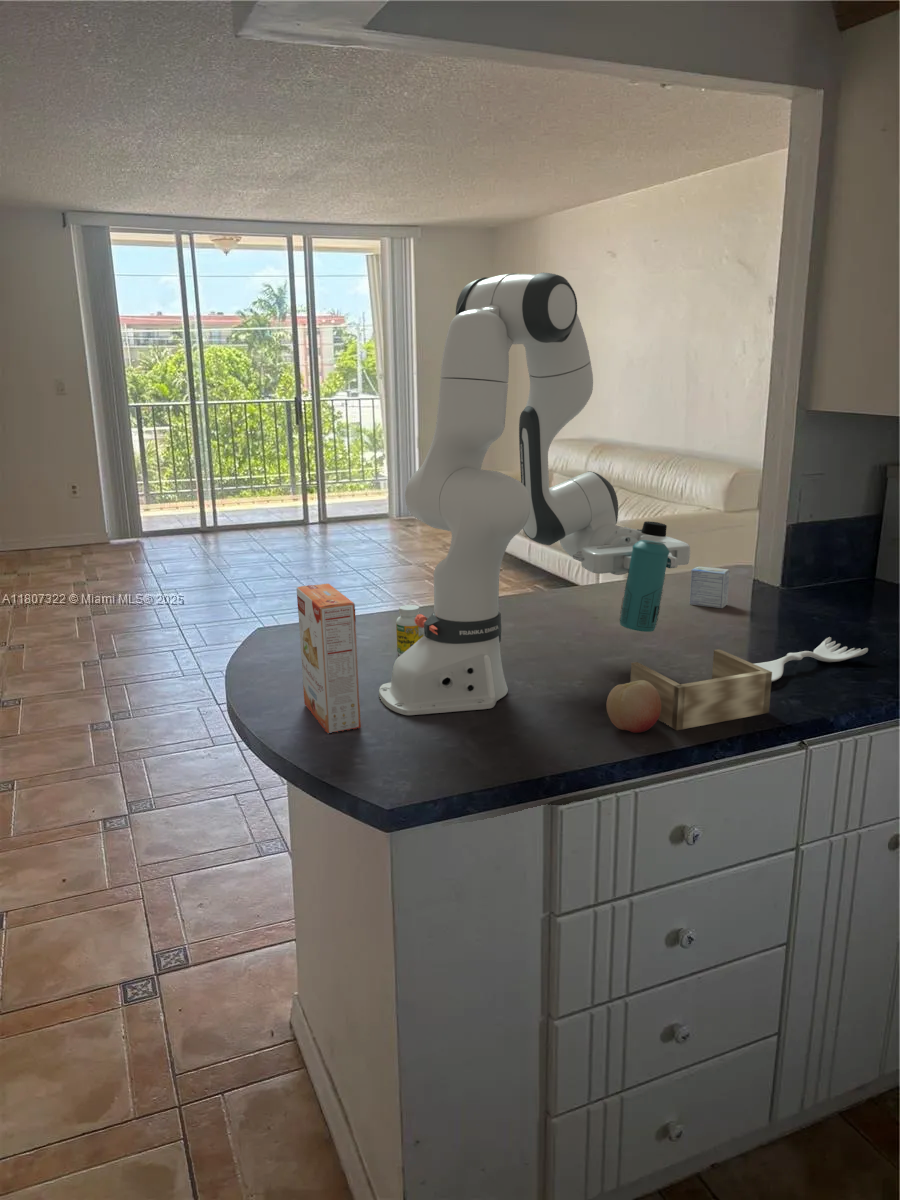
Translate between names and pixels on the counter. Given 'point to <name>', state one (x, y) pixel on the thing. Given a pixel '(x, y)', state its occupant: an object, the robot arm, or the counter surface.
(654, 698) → the fruit
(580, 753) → the counter surface
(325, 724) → the cracker box
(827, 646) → the white long slender part
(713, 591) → the medicine box
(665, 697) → the box
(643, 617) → the beverage bottle
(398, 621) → the supplement bottle
